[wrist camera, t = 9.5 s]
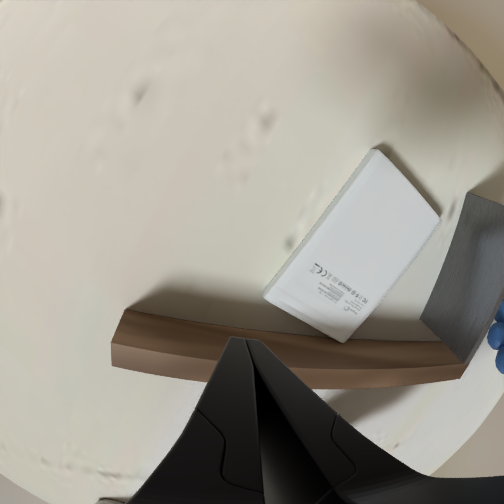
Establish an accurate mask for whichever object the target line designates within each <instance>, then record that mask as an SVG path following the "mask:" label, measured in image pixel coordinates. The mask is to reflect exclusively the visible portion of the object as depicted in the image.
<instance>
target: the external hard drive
mask: <svg viewBox="0 0 504 504" xmlns="http://www.w3.org/2000/svg"><path fill="white" fill-rule="evenodd" d="M440 223H441V219H440V217H439V216H438V215H437V213H436V212H435V211H434V210H433V209H432V207H431V206H430V205H429V204H428V202H427V201H426V200H425V199H424V198H423V197H422V195H421V194H420V193H419V192H418V191H417V190H416V188H415V187H414V186H413V185H412V184H411V183H410V181H409V180H408V179H407V178H406V177H405V176H404V175H403V174H402V173H401V172H400V170H398V169H397V167H396V166H395V165H394V164H393V163H392V162H391V161H390V160H389V159H388V158H387V157H386V156H385V155H384V154H383V153H382V152H381V151H380V150H378V149H370V150H369V152H368V153H367V155H366V156H365V157H364V159H363V160H362V162H361V163H360V164H359V166H358V167H357V168H356V170H355V171H354V172H353V174H352V175H351V177H350V178H349V179H348V181H347V182H346V183H345V185H344V186H343V188H342V189H341V190H340V192H339V193H338V194H337V196H336V197H335V198H334V199H333V201H332V202H331V204H330V205H329V206H328V207H327V209H326V210H325V212H324V213H323V214H322V216H321V217H320V218H319V219H318V221H317V222H316V223H315V225H314V226H313V227H312V229H311V230H310V231H309V233H308V234H307V235H306V237H305V238H304V239H303V240H302V242H301V243H300V244H299V246H298V247H297V248H296V250H295V251H294V252H293V253H292V255H291V256H290V257H289V259H288V260H287V261H286V262H285V264H284V265H283V266H282V268H281V269H280V270H279V271H278V273H277V274H276V275H275V276H274V278H273V279H272V280H271V281H270V283H269V284H268V285H267V286H266V288H265V289H264V290H263V292H262V293H263V296H264V298H265V299H266V300H267V301H269V302H270V303H272V304H274V305H275V306H277V307H279V308H281V309H282V310H284V311H286V312H288V313H290V314H291V315H293V316H295V317H296V318H298V319H300V320H302V321H304V322H305V323H307V324H309V325H310V326H312V327H314V328H316V329H318V330H319V331H321V332H323V333H325V334H326V335H328V336H330V337H332V338H334V339H335V340H337V341H339V342H341V343H345V341H346V340H347V339H348V338H349V337H350V336H351V335H352V334H353V333H354V331H355V330H356V329H357V328H358V327H359V326H360V325H361V324H362V323H363V322H364V320H365V319H366V318H367V317H368V316H369V315H370V314H371V313H372V311H373V310H374V309H375V308H376V307H377V306H378V304H379V303H380V302H381V301H382V300H383V298H384V297H385V296H386V295H387V294H388V292H389V291H390V290H391V289H392V287H393V286H394V285H395V284H396V282H397V281H398V280H399V279H400V277H401V276H402V275H403V274H404V272H405V271H406V270H407V268H408V267H409V266H410V265H411V263H412V262H413V261H414V259H415V258H416V257H417V255H418V254H419V253H420V251H421V250H422V248H423V247H424V246H425V244H426V243H427V241H428V240H429V239H430V237H431V236H432V234H433V233H434V231H435V230H436V228H437V227H438V225H439V224H440Z"/></svg>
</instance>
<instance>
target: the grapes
mask: <svg viewBox="0 0 504 504" xmlns="http://www.w3.org/2000/svg"><path fill="white" fill-rule="evenodd" d="M494 319H495V320H496V321H497V322H496V323H494V324H493V325H492V326H491V327H490V328H489V332H488V336H487V339H488V344H489V345H490V346H491V347H492V348H493V349H495V350H498V352H497V356H496V360H495V362H496V367H497V369H498V370H499V371H500V372H501V373H502V374H504V298H503V301H502V303H501V305H500V307H499V309H498V311H497V313H496V315H495V317H494Z"/></svg>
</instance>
